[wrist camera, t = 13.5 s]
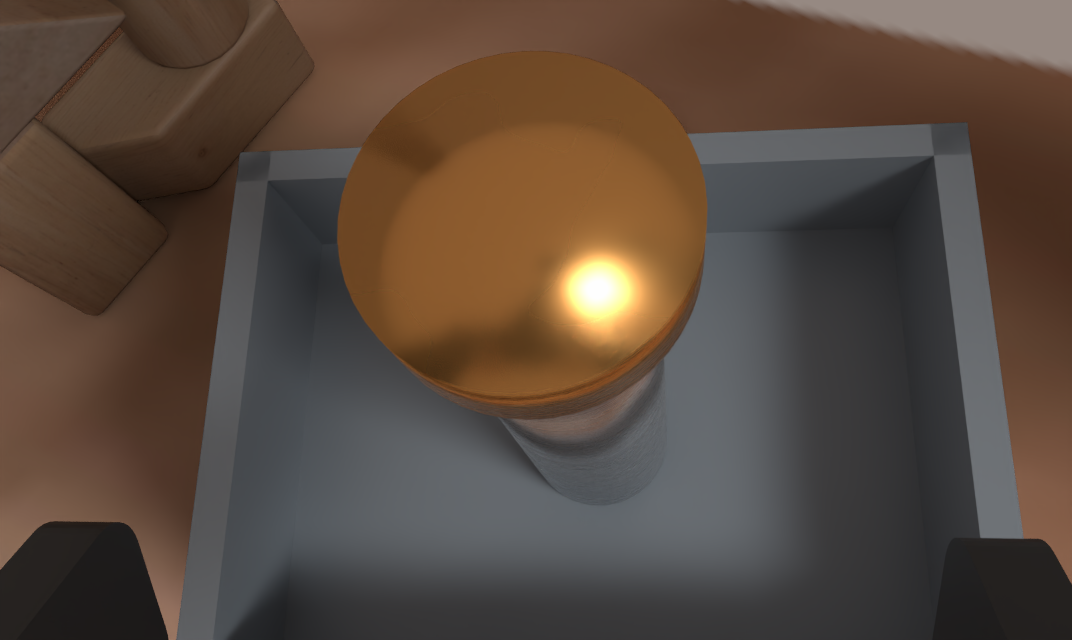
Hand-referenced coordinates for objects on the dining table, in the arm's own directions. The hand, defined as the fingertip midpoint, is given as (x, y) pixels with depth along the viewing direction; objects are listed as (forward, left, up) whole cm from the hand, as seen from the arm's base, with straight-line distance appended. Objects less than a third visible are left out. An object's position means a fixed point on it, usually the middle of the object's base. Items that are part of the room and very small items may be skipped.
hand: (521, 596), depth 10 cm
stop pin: (0, -4, -11) cm, 12 cm away
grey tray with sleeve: (0, 0, -16) cm, 16 cm away
